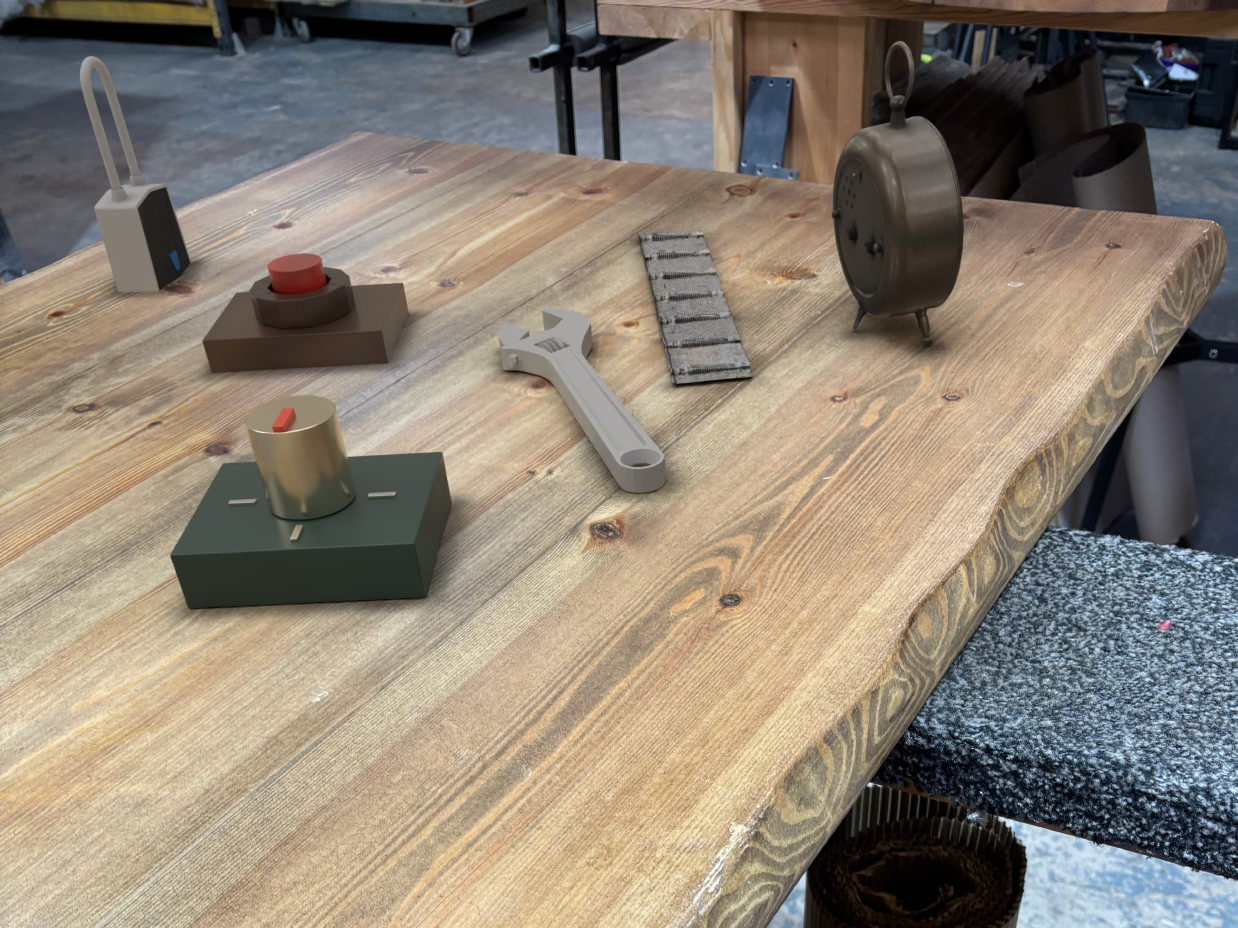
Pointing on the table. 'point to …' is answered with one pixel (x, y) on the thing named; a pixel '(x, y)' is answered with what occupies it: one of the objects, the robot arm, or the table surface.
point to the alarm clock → (898, 214)
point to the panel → (316, 538)
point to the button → (297, 274)
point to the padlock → (133, 208)
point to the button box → (307, 326)
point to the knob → (301, 456)
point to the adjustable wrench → (585, 395)
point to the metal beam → (692, 309)
